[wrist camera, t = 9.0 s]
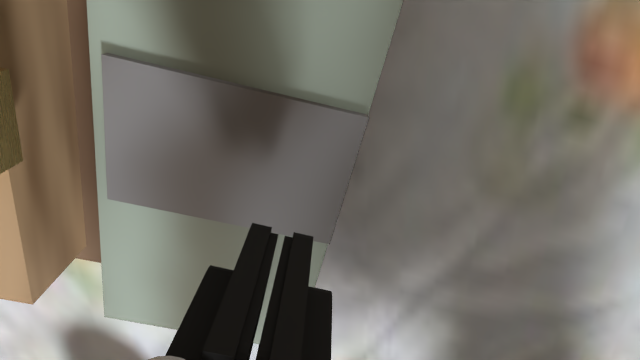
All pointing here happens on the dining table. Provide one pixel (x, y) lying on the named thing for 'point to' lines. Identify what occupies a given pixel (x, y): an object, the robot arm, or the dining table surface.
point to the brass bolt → (8, 125)
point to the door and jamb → (179, 137)
